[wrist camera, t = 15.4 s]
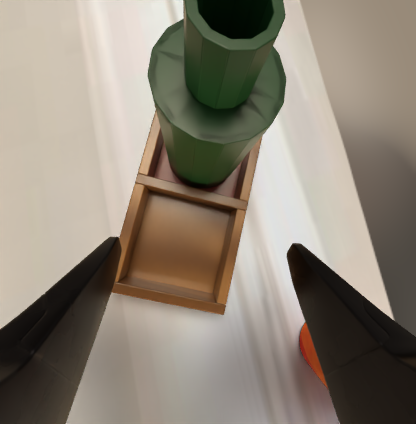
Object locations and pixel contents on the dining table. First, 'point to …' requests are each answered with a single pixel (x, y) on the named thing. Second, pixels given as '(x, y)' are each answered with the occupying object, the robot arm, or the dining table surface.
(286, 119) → the dining table surface
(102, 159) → the dining table surface
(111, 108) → the dining table surface
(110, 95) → the dining table surface
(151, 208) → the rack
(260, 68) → the bottle
